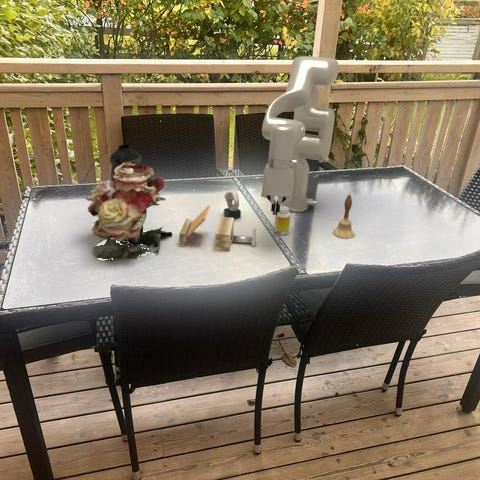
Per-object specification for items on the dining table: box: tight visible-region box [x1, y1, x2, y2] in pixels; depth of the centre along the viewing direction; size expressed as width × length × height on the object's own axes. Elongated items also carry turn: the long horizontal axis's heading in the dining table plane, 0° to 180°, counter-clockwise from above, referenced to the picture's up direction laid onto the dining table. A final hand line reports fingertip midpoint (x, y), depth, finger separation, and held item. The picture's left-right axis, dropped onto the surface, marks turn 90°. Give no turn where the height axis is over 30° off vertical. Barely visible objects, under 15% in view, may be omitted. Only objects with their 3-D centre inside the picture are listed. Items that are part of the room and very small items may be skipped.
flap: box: [186, 205, 211, 239], centre depth 162 cm, size 10×11×1 cm
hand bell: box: [332, 194, 355, 240], centre depth 171 cm, size 8×8×16 cm
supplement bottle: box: [273, 206, 291, 236], centre depth 171 cm, size 6×6×10 cm
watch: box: [223, 190, 242, 220], centre depth 181 cm, size 6×8×11 cm
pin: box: [231, 228, 257, 248], centre depth 164 cm, size 8×4×5 cm, turn 85°
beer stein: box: [108, 144, 142, 190], centre depth 183 cm, size 16×19×25 cm
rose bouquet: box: [85, 163, 173, 262], centre depth 152 cm, size 26×29×30 cm
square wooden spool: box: [179, 216, 235, 252], centre depth 164 cm, size 18×14×6 cm
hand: (275, 213), depth 157 cm, fingers closed
